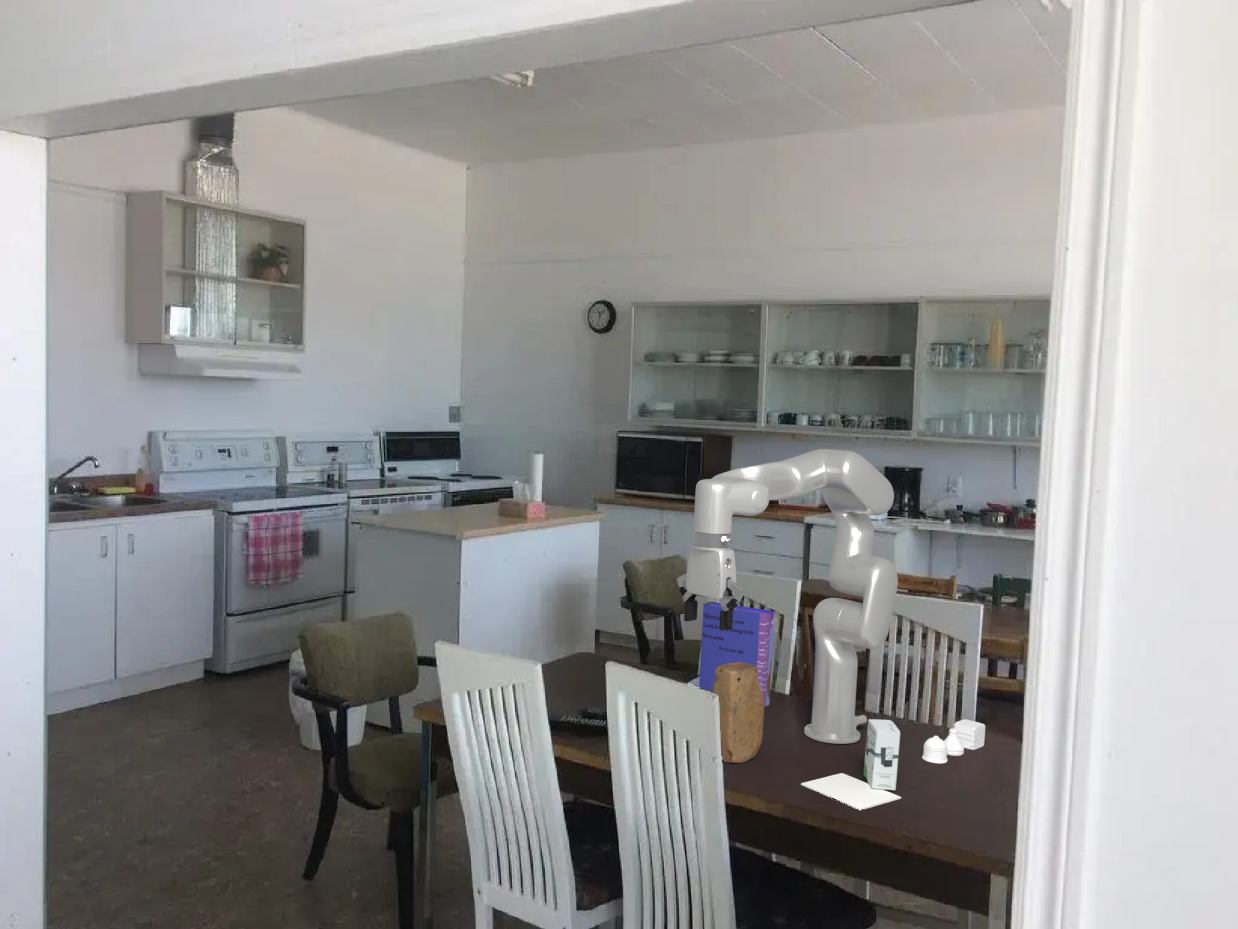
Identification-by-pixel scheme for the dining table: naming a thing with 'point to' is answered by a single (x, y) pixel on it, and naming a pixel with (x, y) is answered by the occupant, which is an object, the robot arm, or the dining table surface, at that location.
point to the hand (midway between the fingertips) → (707, 625)
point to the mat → (850, 791)
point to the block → (739, 710)
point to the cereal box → (737, 643)
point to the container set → (955, 741)
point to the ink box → (882, 754)
